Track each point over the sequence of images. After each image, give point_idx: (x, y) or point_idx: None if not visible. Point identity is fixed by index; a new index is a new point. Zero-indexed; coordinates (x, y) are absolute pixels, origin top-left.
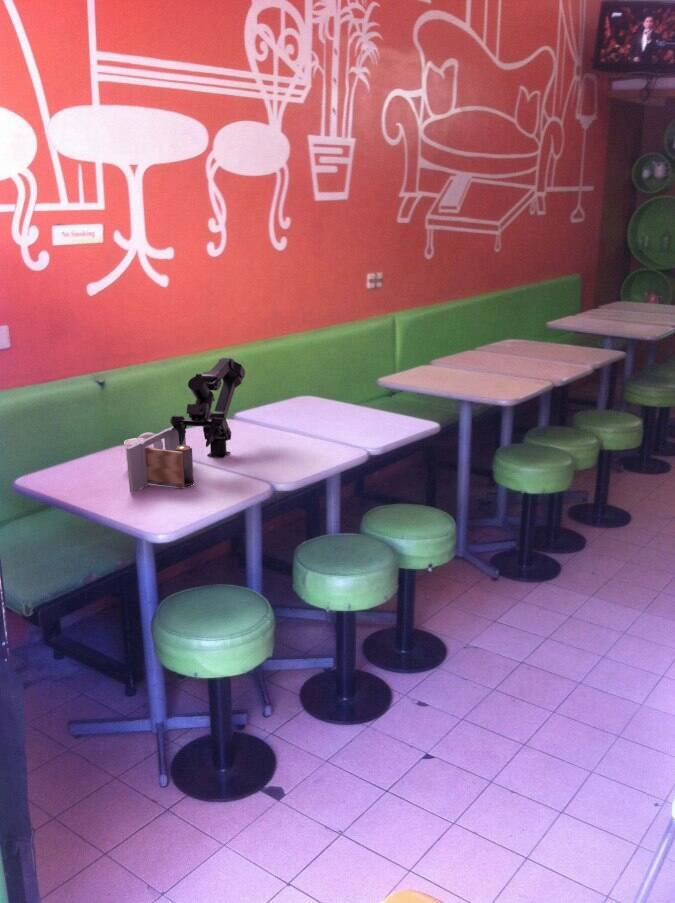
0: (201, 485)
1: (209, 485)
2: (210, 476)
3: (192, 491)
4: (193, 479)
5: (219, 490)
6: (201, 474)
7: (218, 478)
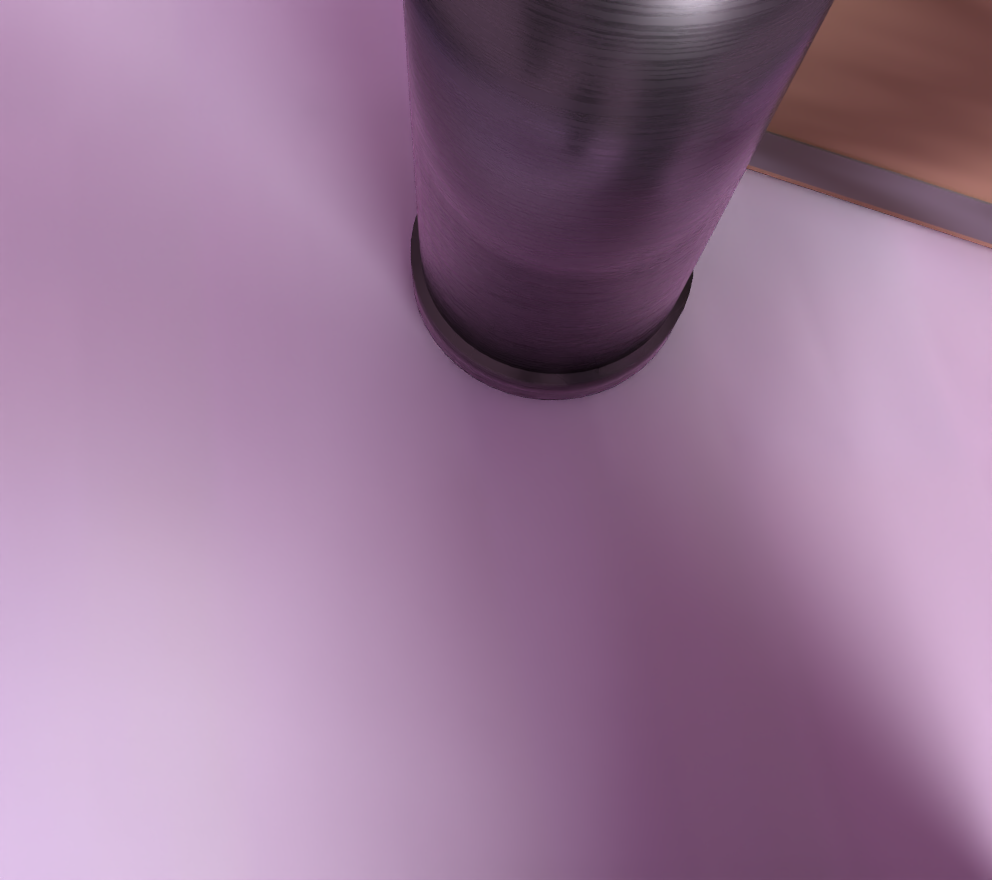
0: (296, 224)
1: (175, 223)
2: (190, 648)
3: (389, 10)
4: (421, 256)
5: (20, 36)
6: (365, 762)
7: (44, 542)
